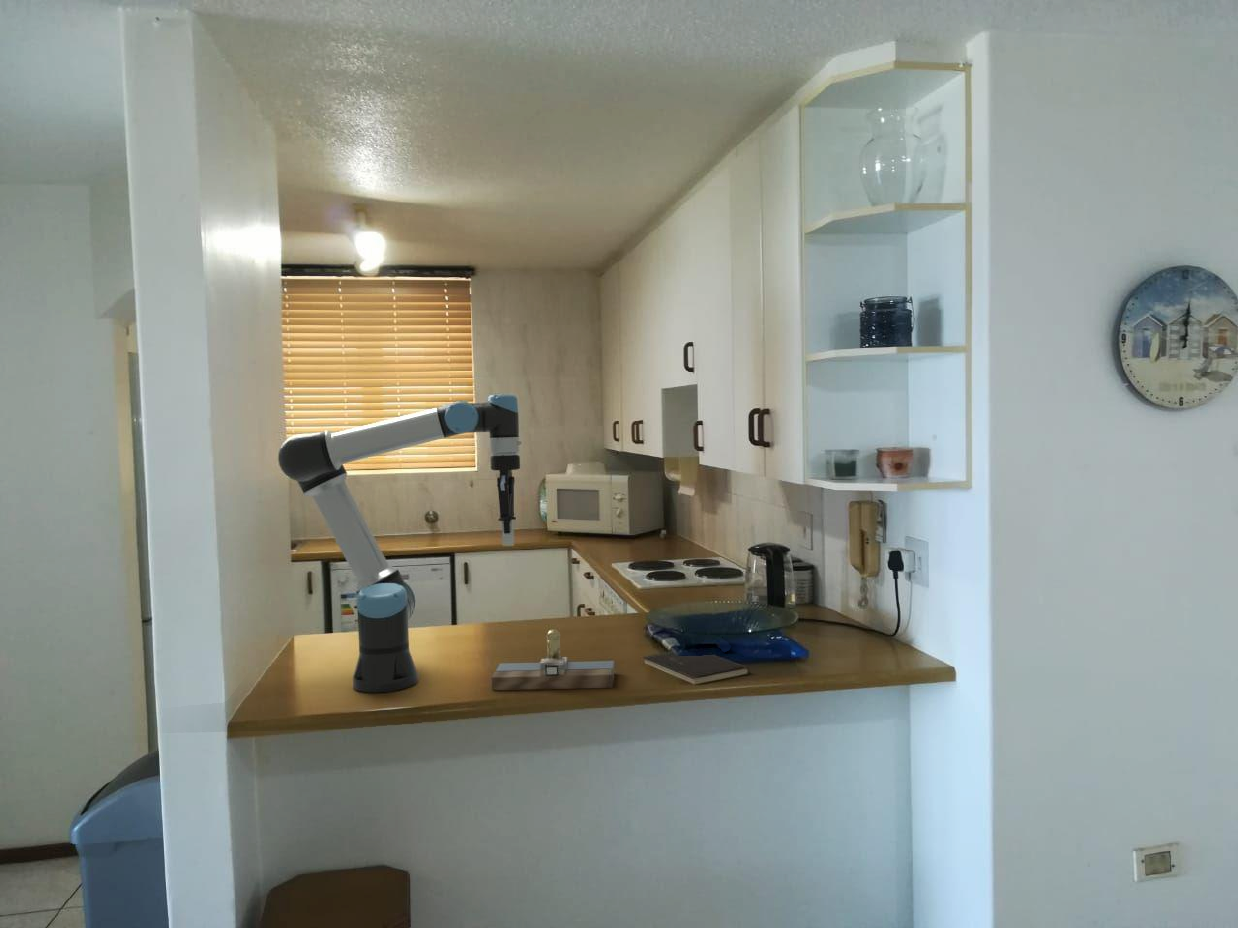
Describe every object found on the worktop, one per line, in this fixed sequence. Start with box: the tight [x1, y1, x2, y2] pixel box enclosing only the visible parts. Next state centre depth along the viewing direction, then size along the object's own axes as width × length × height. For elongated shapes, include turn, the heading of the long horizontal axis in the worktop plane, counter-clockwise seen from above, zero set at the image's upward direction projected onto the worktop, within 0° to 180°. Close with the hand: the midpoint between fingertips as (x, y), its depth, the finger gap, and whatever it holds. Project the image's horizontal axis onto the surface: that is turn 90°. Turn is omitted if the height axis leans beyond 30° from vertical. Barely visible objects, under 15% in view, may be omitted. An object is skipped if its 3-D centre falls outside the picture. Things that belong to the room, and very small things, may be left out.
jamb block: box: [491, 657, 614, 691], centre depth 207 cm, size 28×5×6 cm, turn 88°
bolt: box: [546, 628, 561, 674], centre depth 208 cm, size 3×7×9 cm, turn 178°
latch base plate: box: [495, 656, 615, 681], centre depth 213 cm, size 28×6×4 cm, turn 88°
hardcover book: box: [642, 650, 750, 685], centre depth 218 cm, size 16×23×2 cm
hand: (508, 545), depth 229 cm, fingers closed
